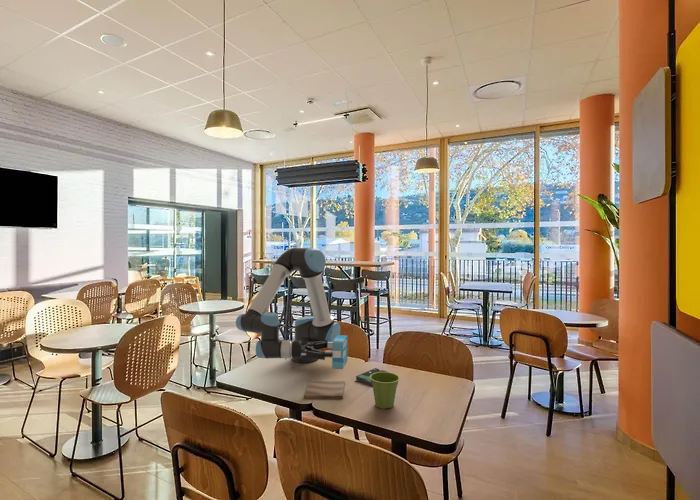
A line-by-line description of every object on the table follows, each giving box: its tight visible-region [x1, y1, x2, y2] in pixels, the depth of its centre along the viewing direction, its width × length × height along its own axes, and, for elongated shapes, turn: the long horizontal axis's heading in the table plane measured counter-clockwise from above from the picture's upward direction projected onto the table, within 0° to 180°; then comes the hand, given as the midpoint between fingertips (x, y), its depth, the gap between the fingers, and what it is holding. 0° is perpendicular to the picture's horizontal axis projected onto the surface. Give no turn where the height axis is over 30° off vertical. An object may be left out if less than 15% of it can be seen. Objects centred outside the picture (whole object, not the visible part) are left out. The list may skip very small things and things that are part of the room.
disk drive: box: [355, 367, 388, 387], centre depth 169 cm, size 10×3×15 cm
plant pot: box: [370, 371, 401, 410], centre depth 141 cm, size 12×12×11 cm
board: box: [304, 380, 346, 400], centre depth 156 cm, size 16×16×1 cm
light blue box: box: [331, 334, 349, 370], centre depth 155 cm, size 12×4×12 cm, turn 171°
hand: (341, 349), depth 155 cm, fingers closed on light blue box, 12 cm apart
